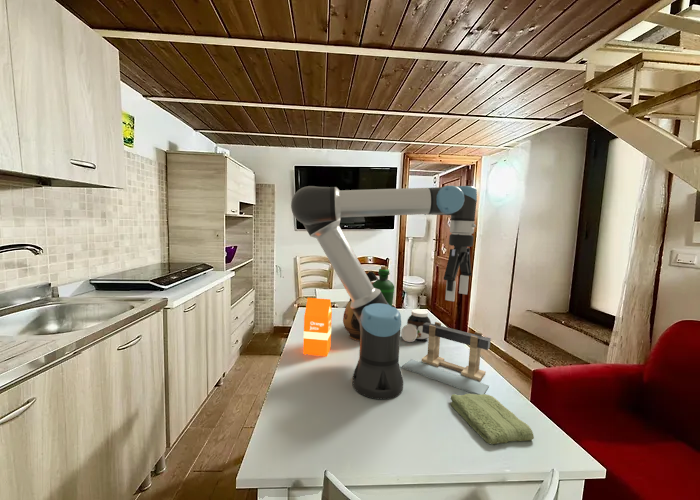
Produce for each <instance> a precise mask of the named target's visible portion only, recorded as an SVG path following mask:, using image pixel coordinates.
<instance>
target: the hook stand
mask: <svg viewBox="0 0 700 500" xmlns="http://www.w3.org/2000/svg"><path fill="white" fill-rule="evenodd" d="M434 324H435V325H439V326H442V323H441V322H437V321H435V322H434ZM435 331H436V326H432V325H429V338H428V339H427V340H428V343H427V354H425V356H423V357H421V361H420V362H421V363H424V364H427V365H430V366H433V367H436V368H438V367H439V366H442V367H446V368H449V369H450V370H454V371H458V372H460V376H463V377H466V378H468V379H471V380H474V381H477V382H481V381H482V380H483V378H484V377H485V376H486V373H487V372H486V370H482V369H480V362H481V352H482V351H481V348H478V347H477V343H478V337H476V336H472V335H471V340H470V345H469V357H468V365H466V366H462V365H459V364H456V363H455V364H454V363H452V362H449V361H446V360H445V358H444V357H441V356H440V343H441V337H437V336H435ZM474 334H475V335H479V336H483V332H479V331H475V332H474Z"/></svg>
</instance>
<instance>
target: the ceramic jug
mask: <svg viewBox="0 0 700 500" xmlns="http://www.w3.org/2000/svg"><path fill="white" fill-rule="evenodd" d="M366 275H367V276H368V278H369V280H370V282H371V283H372V282H375V281H377V280H378V279H379V277H378V276H377V275H376V274H375V273H374V272H373V271H368V272H367V273H366ZM351 301H352V300H351V298H350V297H349V301H348V303H347V304H346V307H345V308H344V311H343V317H342V323H343V327H344V329H345V331H347V333H348V338H349V339H352V340H353V341H355V342H357V341H358V342H360V324H359V321H358V320H357V318H356V316H355V314H354V313H353V311H352V309H351V307H350V305H351Z"/></svg>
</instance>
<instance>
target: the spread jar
mask: <svg viewBox="0 0 700 500" xmlns="http://www.w3.org/2000/svg"><path fill="white" fill-rule="evenodd" d="M426 322H427V323H431V324H432V321H431V319H430V317H429V312H428V311H427V310H424V309H417V308H416V309H412V310H411V314H410V316H408V318H407V322H406V325H404V326H403V327H401V328H402V329H401V330H400V337H401V338H402V339H403V341H405V342H408V343H411V342H414V341H417V342H424V341H426V340H428V339H429V334H426V333H423V332H422V330H423V324H424V323H426Z"/></svg>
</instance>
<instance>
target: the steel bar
mask: <svg viewBox="0 0 700 500" xmlns="http://www.w3.org/2000/svg"><path fill="white" fill-rule="evenodd" d="M429 325H432V326H436V331H435V336H437V337H440V339H441V338H442V339H444V340H445V339H446V340H449V341H453V342H455V343H460V344H463V345H468V346H470V340H471V335H472V336H476V337H478V343H477V347H478V348H481V349H482V350H486V351H489V349H490V348H491V341H492V338H491V337H487V336H483V335H482V336H479V335H475V333H471V332H466V331H462V330H458V329H454V328H451V327H448V326H442V325H441V326H439V325H435V323H432V322H431V323H427V322H426V323H424V324H423V330H422V332H423V333H426V334H429Z"/></svg>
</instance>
